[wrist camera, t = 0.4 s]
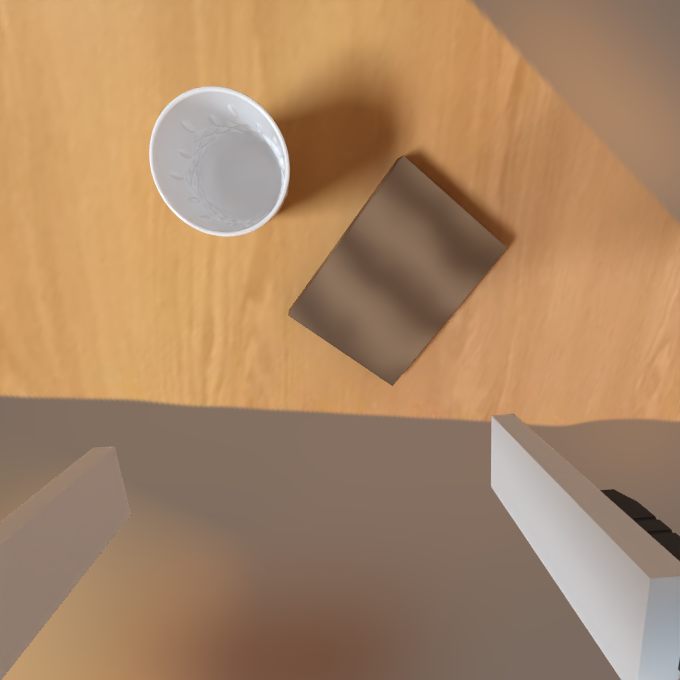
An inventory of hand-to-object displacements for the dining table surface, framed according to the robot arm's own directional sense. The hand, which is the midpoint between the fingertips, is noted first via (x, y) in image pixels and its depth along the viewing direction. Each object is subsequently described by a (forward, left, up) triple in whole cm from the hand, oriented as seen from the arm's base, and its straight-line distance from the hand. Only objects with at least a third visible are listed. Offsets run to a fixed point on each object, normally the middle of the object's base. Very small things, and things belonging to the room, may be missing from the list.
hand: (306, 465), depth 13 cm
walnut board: (-7, +5, -23) cm, 24 cm away
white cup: (-6, -10, -23) cm, 26 cm away
